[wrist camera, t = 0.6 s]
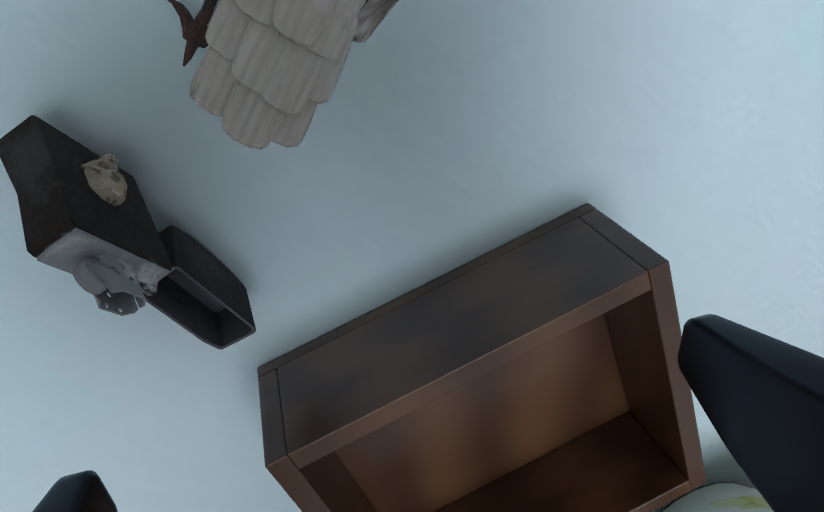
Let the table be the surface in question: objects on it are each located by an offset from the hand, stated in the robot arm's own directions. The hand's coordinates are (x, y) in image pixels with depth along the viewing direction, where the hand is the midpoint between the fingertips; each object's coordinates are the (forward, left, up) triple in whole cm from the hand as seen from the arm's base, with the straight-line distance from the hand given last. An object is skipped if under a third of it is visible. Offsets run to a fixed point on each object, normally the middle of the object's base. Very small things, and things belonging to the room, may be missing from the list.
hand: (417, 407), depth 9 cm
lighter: (-5, 0, -13) cm, 14 cm away
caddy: (+2, -13, -13) cm, 18 cm away
